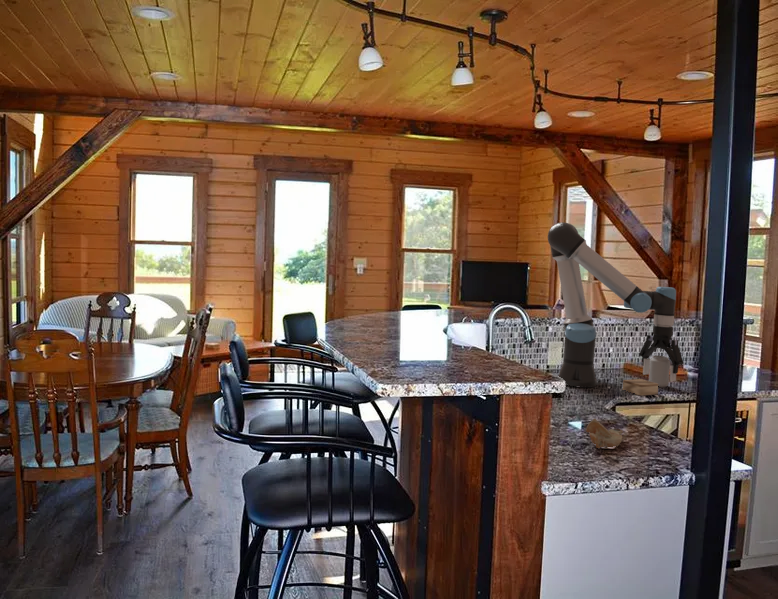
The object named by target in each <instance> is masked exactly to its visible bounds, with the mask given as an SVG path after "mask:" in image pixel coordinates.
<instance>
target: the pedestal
mask: <svg viewBox="0 0 778 599" xmlns="http://www.w3.org/2000/svg"><path fill="white" fill-rule="evenodd" d="M623 390H626V391H625V392H627V391H628V392H627V393H630V392H631V393H630V394H633V393H635V394H634V395H636V396H641V397H642V396H650V395H651V396H652V395H653V396H654V395H658V394H659V393H658V392H659V387H658V384H657V383H654V382H650V381H649V380H646V379H643V378H635V379H634V378H633V379H623V381H622V391H623Z"/></svg>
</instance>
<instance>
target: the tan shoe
mask: <svg viewBox="0 0 778 599" xmlns="http://www.w3.org/2000/svg"><path fill="white" fill-rule="evenodd" d="M585 431H586V432H587V433H589V439H590V441H591V443H592V444H593V443H594V444H596V446H595V447H596V449H597V448H600V447H604V446H607V447H613V446H617V447H618V446H619V445H620V444H621V443H622V441H623V435H622V434H623V433H624V430H623V429H621V428H611V429H607V428H606V427H605V426H604V425H603V424H602V423H600V422H599V420H597V419H596V418H593V419H592V420H591V421H590V422H589V423H588V424H587V426H586V429H585ZM594 444H593V445H594Z"/></svg>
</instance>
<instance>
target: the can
mask: <svg viewBox="0 0 778 599" xmlns="http://www.w3.org/2000/svg"><path fill="white" fill-rule="evenodd" d="M670 368H671V360H670V358H669V356H665V355H664V356H663V355H652V357H651V358H650V367H649V374H648V381H650V382H654V383H657V384H658V386H659V387H658V388H667V387H668V386H669V382H670V381H669V379H670Z"/></svg>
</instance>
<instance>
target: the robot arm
mask: <svg viewBox="0 0 778 599" xmlns="http://www.w3.org/2000/svg"><path fill="white" fill-rule="evenodd" d="M547 241H548V244H549V246H550V251H551V257H552V259H553V260H555V261H556V265H557V270H558V276H559V283H560V288H561V294H562V300H563V304H564V305H563V306H564V311H565V317H566V318H565V319H564V321H563V329H564V347H563V361H562V365H561V368H560V371H559V374H558V375H557V377H558V376H559V377H561V378H563V379H564V380H565V381H566V383H567V384H568V386H567V387H573V386H580V387H579V388H594V387H596V386H597V382H598V380H597V376H596V371H595V368H594V361H595V351H596V350H595V349H596V348H595V347H596V340H597V332H596V331H597V329H596V326H595V327H594V322H593V318H592V316H590V315H588V310H587V304H586V303H587V302H586V298H585V291H584V286H583V280H582V274H581V273H582V272H581V269H580V266H581V267H582V268H583V269H585V270H586V272H588V273H590V274H591V275H592V276H593V277H594V278H596V280H598V281H599V282H600V283H602V284H603V285H604V286H605V287H606V288H608V289H609V290H610V291H611V292H612V293H614V294H615V295H616V296H617V297H618V298H619V299H621V300H622V301H623V307H624V308H626V309H631V310H633V311H634V312H636V313H638V314H640V313H647V311H649V310H651V311H654V315H653V324H654V325H653V326H652V334H648V335H647V336H646V338H645V339H646V340H645V342H644V344H642V345H643V346H642V347H641V349H640V351H639V355H638V356H640V357H641V358H642V366H643V367H642V375H645V376H646V375H649V371H650V360H651V358H650V357H651V355H652V354H653V353H654V352H655V351H656V350H657V349H661V350H664V351H665V352H666V354H667V357H669V361H670V363H671V364H670V371H669V382H671V383H672V382H676V381H677V374H678V373H679V366H681V365H684V361H683V356H682V353H681V351H680V348H679V340H678V339H673V338H672V337H673V335H674V327H673V326H674V324H675V323H674V322H675V311H676V302H677V289H676V288H675V287H669V286H657V287H656V289H655V291H654V290H653V291H650V290H643V289H641V288H640V287H639V286H637V285H636V284H635V283H634V282H633V281H631V280H630V279H629V278H628V277H627V276H625V275H624V274H623V273H622V272H621V271H619V270H618V269H617V268H616V267H614V265H613V264H611V263H609V262H608V261H607V260H606V259H605V258H604V257H602V256H601V255H600V254H599V253H597V252H596V250H594V249H593V248H591V247H590V246H589V245H588V244H587V240H586V239H585V238H584V237H582V236H581V235H580V234H579V232H578V230H577V227H575V226H574V225H573V224H571V223H568V222H557V223H555V224H553V225H552V226H551V228H550V229H549V230H548V233H547ZM569 385H570V386H569Z"/></svg>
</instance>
